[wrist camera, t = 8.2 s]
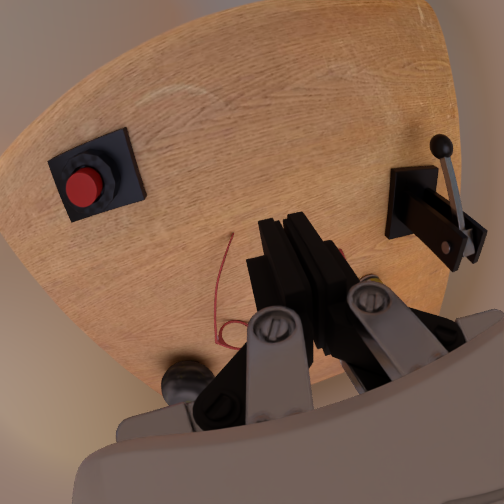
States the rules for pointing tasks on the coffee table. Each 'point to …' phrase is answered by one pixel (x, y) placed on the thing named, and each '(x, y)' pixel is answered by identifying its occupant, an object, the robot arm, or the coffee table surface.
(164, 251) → the coffee table surface
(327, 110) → the coffee table surface
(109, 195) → the control block
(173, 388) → the decorative stone
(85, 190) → the button
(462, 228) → the lever
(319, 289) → the robot arm
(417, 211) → the bracket
